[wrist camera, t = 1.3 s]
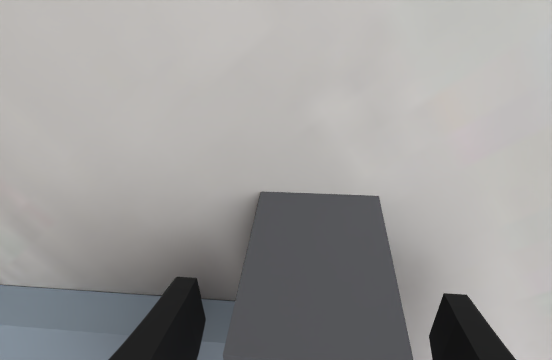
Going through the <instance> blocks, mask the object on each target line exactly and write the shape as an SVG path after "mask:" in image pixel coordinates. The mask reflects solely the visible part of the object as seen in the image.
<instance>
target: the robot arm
mask: <svg viewBox="0 0 552 360" xmlns="http://www.w3.org/2000/svg"><path fill="white" fill-rule="evenodd" d="M205 322H206V318H205V313H204V309H203V304H202V300H201V295H200V291H199V286H198V282H197V278H187V277H177V278H175V279H174V280H173V282H172V283H171V284H170V286H169V287H168V288H167V290H166V291H165V292H164V294H163V295H162V296H161V298H160V299H159V300H158V301H157V303H156V304H155V305H154V307H153V308H152V309H151V310H150V312H149V313H148V314H147V315H146V317H145V318H144V319H143V320H142V321H141V323H140V324H139V325H138V326H137V327H136V329H135V330H134V331H133V332H132V333H131V335H130V336H129V337H128V338H127V339H126V340H125V342H124V343H123V344H122V345H121V346H120V347H119V348H118V349H117V351H116V352H115V353H114V354H113V355H112V356H111V357H110V358H109V359H108V360H197V357H198V354H199V350H200V346H201V341H202V337H203V332H204V327H205ZM429 339H430V345H431V352H432V358H433V360H516V359H515V358H514V357H513V355H512V354H511V353H510V352H509V350H508V349H507V348H506V346H505V345H504V344H503V343H502V341H501V340H500V339H499V337H498V336H497V335H496V333H495V332H494V331H493V329H492V328H491V327H490V325H489V324H488V323H487V321H486V320H485V319H484V317H483V316H482V315H481V313H480V312H479V310H478V309H477V308H476V306H475V305H474V304H473V302H472V301H471V300H470V298H469V297H468V296H467V295H461V294H445V293H444V294H443V297H442V300H441V303H440V306H439V309H438V312H437V314H436V317H435V320H434V323H433V326H432V329H431V332H430V335H429Z"/></svg>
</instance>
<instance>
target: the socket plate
mask: <svg viewBox="0 0 552 360" xmlns="http://www.w3.org/2000/svg"><path fill="white" fill-rule="evenodd" d="M160 298H161V296H151V295H136V294H122V293H107V292H93V291H78V290H64V289H49V288H35V287H20V286H6V285H0V360H108V359H109V358H110V357H111V356H112V355H113V354H114V353H115V352H116V351H117V349H118V348H119V347H120V346H121V345H122V344H123V343H124V342H125V340H126V339H127V338H128V337H129V336H130V335H131V333H132V332H133V331H134V330H135V329H136V327H137V326H138V325H139V324H140V323H141V321H142V320H143V319H144V318H145V317H146V315H147V314H148V313H149V312H150V310H151V309H152V308H153V307H154V305H155V304H156V303H157V301H158V300H159V299H160ZM201 300H202V304H203V309H204V313H205V318H206V322H205V327H204V332H203V337H202V341H201V346H200V350H199V354H198V357H197V360H223V351H224V347H225V343H226V338H227V334H228V330H229V326H230V321H231V317H232V313H233V308H234V304H235V301H223V300H209V299H201Z"/></svg>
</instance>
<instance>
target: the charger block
mask: <svg viewBox="0 0 552 360" xmlns="http://www.w3.org/2000/svg"><path fill="white" fill-rule="evenodd" d="M223 360H413V356H412V351H411V346H410V342H409V337H408V332H407V328H406V323H405V318H404V313H403V309H402V304H401V299H400V294H399V290H398V285H397V280H396V275H395V271H394V266H393V261H392V256H391V252H390V247H389V242H388V238H387V233H386V228H385V223H384V219H383V214H382V209H381V204H380V200H379V196H364V195H338V194H311V193H285V192H261V194H260V198H259V202H258V206H257V211H256V215H255V219H254V223H253V228H252V232H251V236H250V240H249V245H248V249H247V253H246V257H245V262H244V266H243V270H242V274H241V279H240V283H239V287H238V291H237V296H236V300H235V304H234V308H233V313H232V317H231V321H230V326H229V330H228V334H227V338H226V343H225V347H224V351H223Z"/></svg>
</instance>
